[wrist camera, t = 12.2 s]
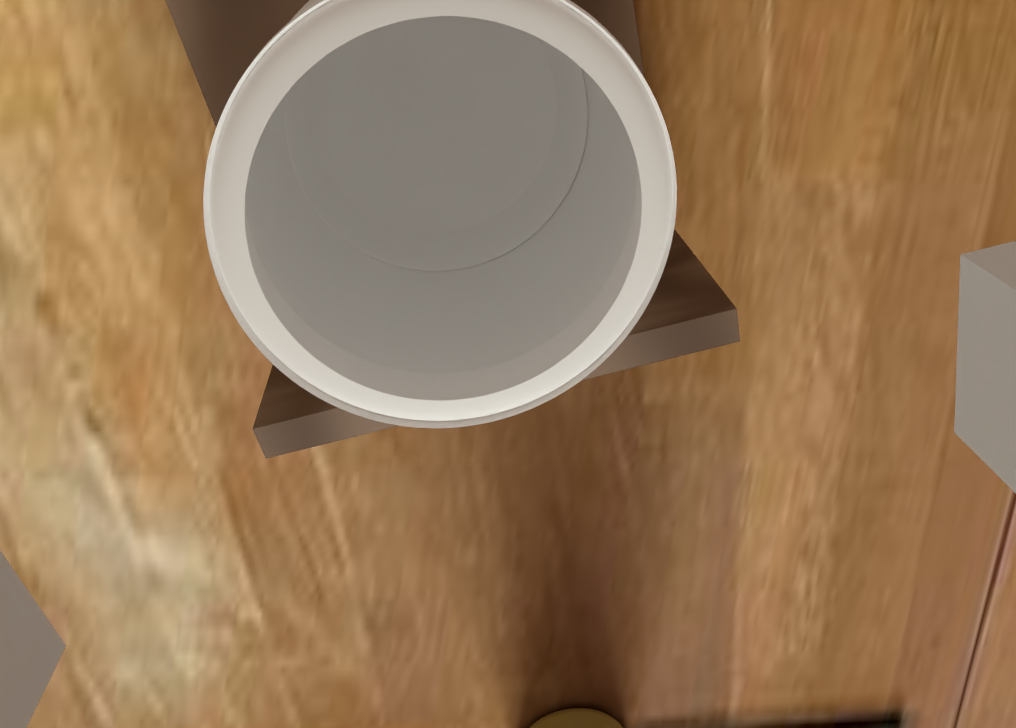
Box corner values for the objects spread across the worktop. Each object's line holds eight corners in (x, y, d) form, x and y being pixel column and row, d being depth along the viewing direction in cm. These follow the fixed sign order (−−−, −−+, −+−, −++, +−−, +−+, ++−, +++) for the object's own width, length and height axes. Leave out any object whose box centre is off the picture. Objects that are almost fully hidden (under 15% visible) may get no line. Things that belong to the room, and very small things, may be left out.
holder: (594, -215, 29) (674, -269, 20) (661, 234, 36) (740, 341, 28) (138, -93, 29) (14, -91, 20) (303, 324, 37) (265, 458, 28)
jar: (469, 275, 35) (499, 496, 22) (241, 133, 32) (115, 297, 19) (630, 53, 32) (780, 161, 19) (392, -134, 28) (369, -166, 15)
